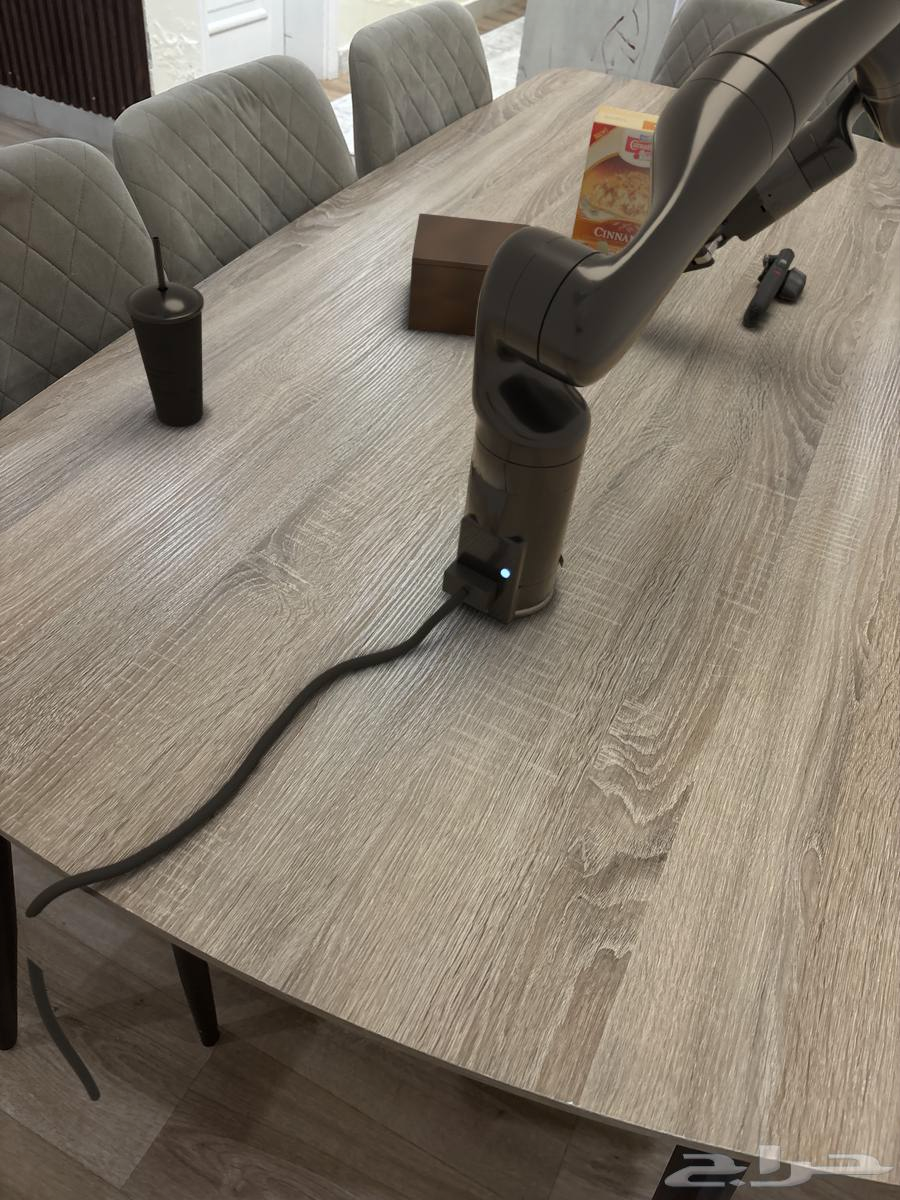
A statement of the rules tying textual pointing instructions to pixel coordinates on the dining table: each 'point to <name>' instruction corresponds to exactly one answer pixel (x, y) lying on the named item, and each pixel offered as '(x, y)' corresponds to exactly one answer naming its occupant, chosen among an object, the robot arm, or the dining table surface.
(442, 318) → the brown wooden box
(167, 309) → the drinking cup
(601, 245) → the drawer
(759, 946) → the dining table surface
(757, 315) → the can opener
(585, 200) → the coffeecake box
